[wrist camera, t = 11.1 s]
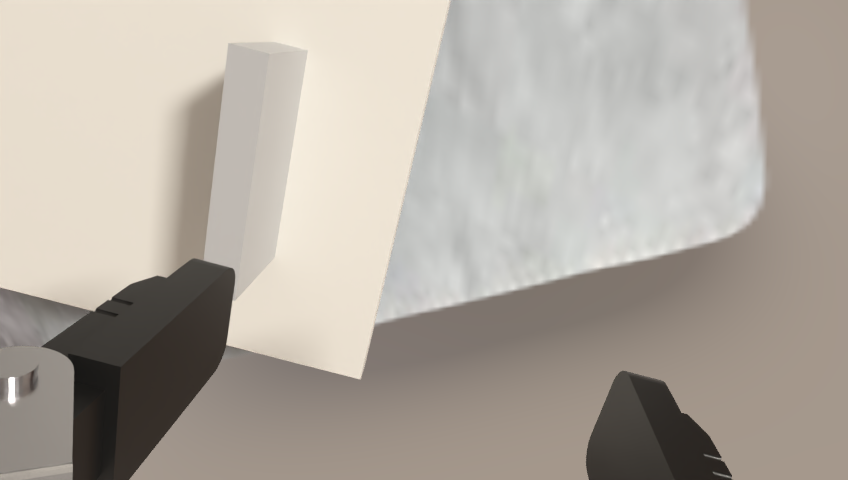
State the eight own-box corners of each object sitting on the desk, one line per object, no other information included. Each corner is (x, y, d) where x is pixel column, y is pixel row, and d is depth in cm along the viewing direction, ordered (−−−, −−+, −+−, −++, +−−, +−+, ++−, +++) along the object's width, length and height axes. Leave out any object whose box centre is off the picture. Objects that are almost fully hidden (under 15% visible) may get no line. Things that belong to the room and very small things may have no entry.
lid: (7, 277, 25) (-96, 330, 21) (0, -174, 19) (-145, -238, 15) (363, 369, 25) (339, 441, 21) (464, -56, 19) (460, -83, 15)
